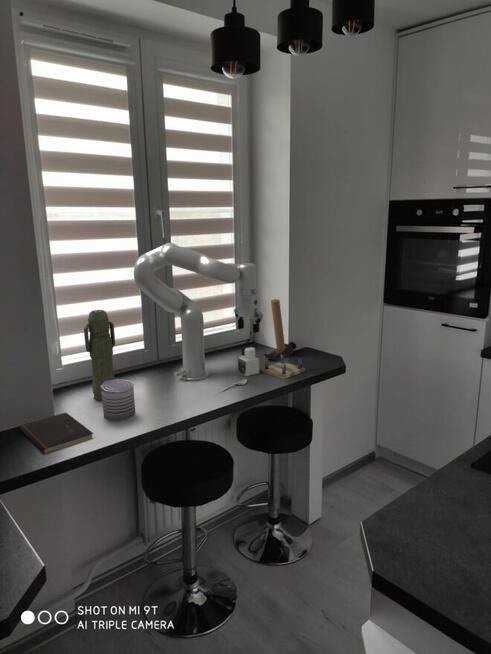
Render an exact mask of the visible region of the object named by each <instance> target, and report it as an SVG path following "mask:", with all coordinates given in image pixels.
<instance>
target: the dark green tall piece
mask: <svg viewBox="0 0 491 654" xmlns="http://www.w3.org/2000/svg"><path fill="white" fill-rule="evenodd" d="M83 335H84V336H83V337H84V345H85V351H86V352H87V353H89V357H90V360H91V368H92V370H91V371H92V385H91V386H92V393H93V399H94V400H95V401H97V402H102V391H101V389H102V388H101V387H100V386H101V385H102V384H103V383H104V382H105V381H110V380H115V379H116V377H115V375H114V363H113V355H114V350H113V348H114V347H115V346H116V337H115V336H116V335H115V325H114V323H113V322H112V321H111V320H109V315H108V313H107V311H106V310H104V309H95V310H92V311H90V312H89V315H88V318H87V323H86V324H85V326H84V328H83Z"/></svg>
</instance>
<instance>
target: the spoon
mask: <svg viewBox="0 0 491 654" xmlns="http://www.w3.org/2000/svg"><path fill="white" fill-rule="evenodd" d="M247 383H248V379H247V378H244V379H241V380H238V381H236V382H234V383H231V384H229V385H227V386H225V387H223V388H221V389H219V390H217V391H215V392H214V393H215V394H220V393H222V392H225V390H227V389H228V388H229V389H230V388H231V387H232V386H234V385H238V386H244V385H246V384H247Z"/></svg>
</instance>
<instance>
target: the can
mask: <svg viewBox="0 0 491 654" xmlns="http://www.w3.org/2000/svg"><path fill="white" fill-rule="evenodd" d="M134 386H135V384H134V383H133V382H131V380H129V379H128V380H127V379H120V378H119V379H118V378H115V380H110V381H105V382H104V383H103V384H102V385H101V386H100V387H101V388H102V389H101V391H102V401H101V402H102V410H103V411H102V413H103V419H105V420H106V421H108V422H115V423H116V422H117V423H119V422H124V421H129V420H130V419H133V418H134V417H135V414H136V405H135V404H136V403H135V390H134Z"/></svg>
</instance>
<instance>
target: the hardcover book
mask: <svg viewBox="0 0 491 654" xmlns="http://www.w3.org/2000/svg"><path fill="white" fill-rule="evenodd" d="M19 429H20V431H21V432H22V433H23V434H24V435H25V436H26V438H28V439H29V440H30V441H31V443H33V444H34V445H35V446H36V447H37V448H38V450H40V451H41V452H42V453H43V454H44V455H45V454H46V453H49V452H53V451H56V450H59V449H62V448H65V447H68V446H71V445H75V444H77V443H81V442H85V441H86V440H91V439H93V435H94V432H92V431H91V429H90V430H89V429H88V428H87V427H86V426H84V425H83V424H82V423H80V422H79V420H77V419H76V418H74V417H73V416H71V415H70V414H69V413H67V412H62V413H59V414H56V415H52V416H48V417H44V418H41V419H37V420H35V421H30V422H27V423H23V424H21V425H20V426H19Z"/></svg>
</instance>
